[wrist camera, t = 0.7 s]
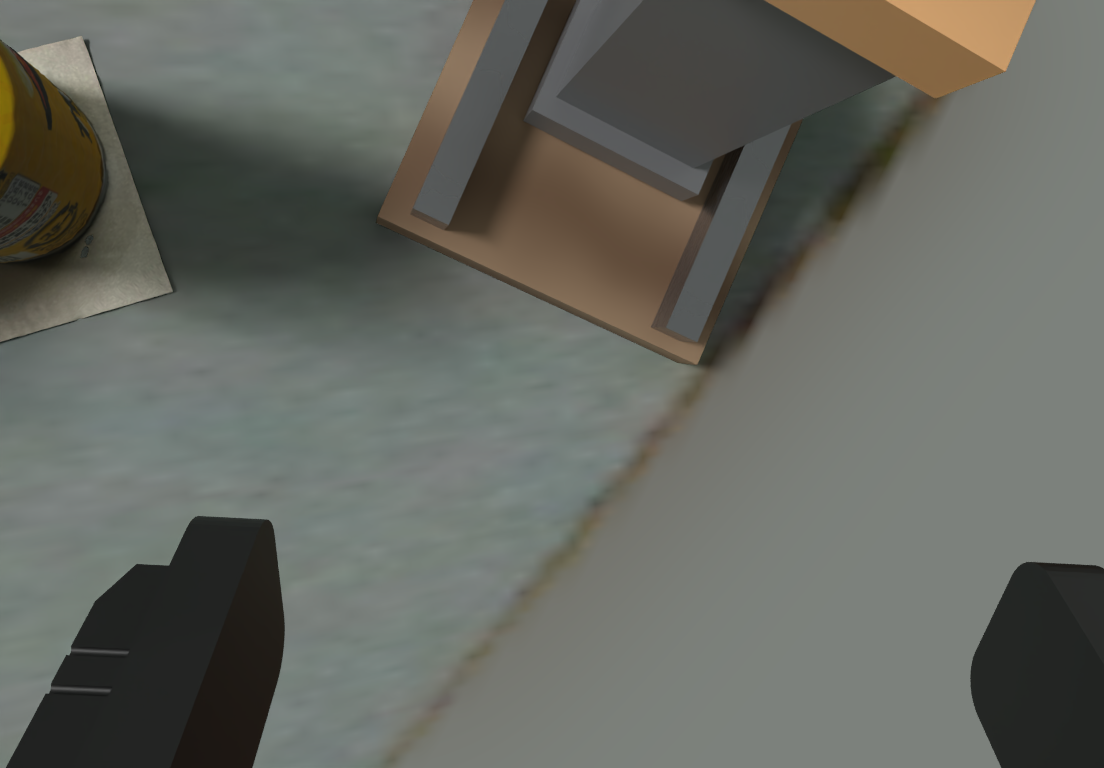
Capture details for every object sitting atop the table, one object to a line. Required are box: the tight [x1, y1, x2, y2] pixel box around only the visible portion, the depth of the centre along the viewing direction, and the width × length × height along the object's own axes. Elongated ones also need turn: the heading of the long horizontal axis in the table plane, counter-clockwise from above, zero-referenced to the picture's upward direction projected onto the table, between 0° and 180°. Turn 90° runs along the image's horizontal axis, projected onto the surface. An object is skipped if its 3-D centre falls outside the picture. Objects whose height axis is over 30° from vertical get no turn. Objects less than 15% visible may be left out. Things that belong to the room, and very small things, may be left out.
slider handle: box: [523, 0, 1036, 201], centre depth 24 cm, size 4×6×16 cm
